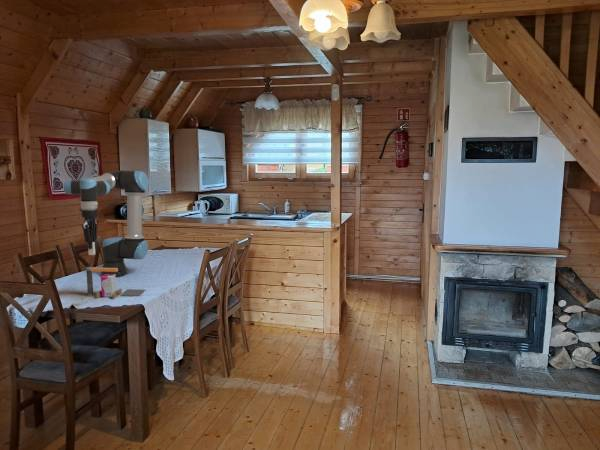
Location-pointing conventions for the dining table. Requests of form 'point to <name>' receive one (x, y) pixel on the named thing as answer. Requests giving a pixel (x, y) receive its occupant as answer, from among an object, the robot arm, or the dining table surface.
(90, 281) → the socket
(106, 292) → the supplement box
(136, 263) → the dining table surface
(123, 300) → the dining table surface
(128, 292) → the pad
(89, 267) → the clip
